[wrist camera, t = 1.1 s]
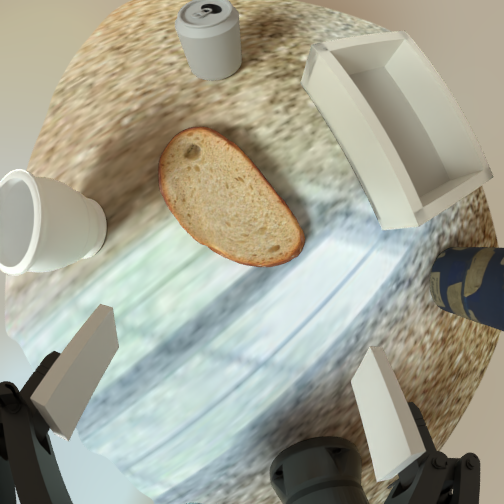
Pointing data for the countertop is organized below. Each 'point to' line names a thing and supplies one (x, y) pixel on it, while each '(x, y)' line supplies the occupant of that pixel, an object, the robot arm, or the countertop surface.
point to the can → (210, 38)
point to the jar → (46, 224)
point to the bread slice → (226, 200)
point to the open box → (395, 125)
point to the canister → (470, 284)
